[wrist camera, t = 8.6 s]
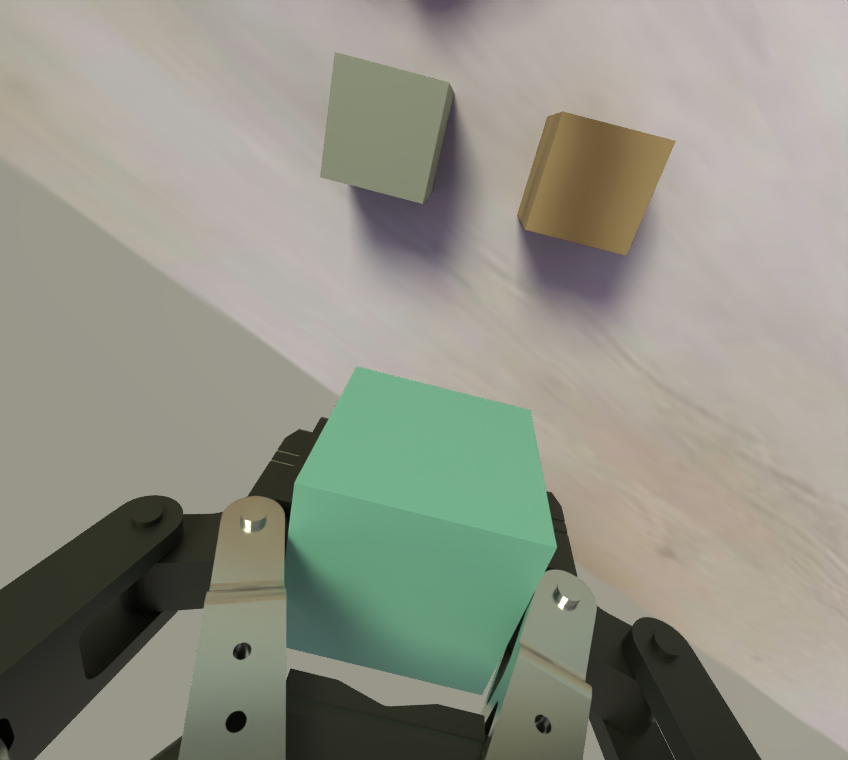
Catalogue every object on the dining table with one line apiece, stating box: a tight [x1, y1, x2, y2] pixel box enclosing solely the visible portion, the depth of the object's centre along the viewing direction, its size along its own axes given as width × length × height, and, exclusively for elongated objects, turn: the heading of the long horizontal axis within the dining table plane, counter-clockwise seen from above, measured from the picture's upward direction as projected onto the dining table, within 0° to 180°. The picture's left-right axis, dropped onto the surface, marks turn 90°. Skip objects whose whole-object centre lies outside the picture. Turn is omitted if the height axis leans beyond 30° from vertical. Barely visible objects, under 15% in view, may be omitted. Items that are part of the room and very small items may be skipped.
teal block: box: [284, 367, 557, 695], centre depth 12 cm, size 5×5×5 cm
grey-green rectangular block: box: [320, 52, 454, 204], centre depth 23 cm, size 5×5×5 cm
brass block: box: [517, 112, 675, 256], centre depth 23 cm, size 5×5×5 cm
